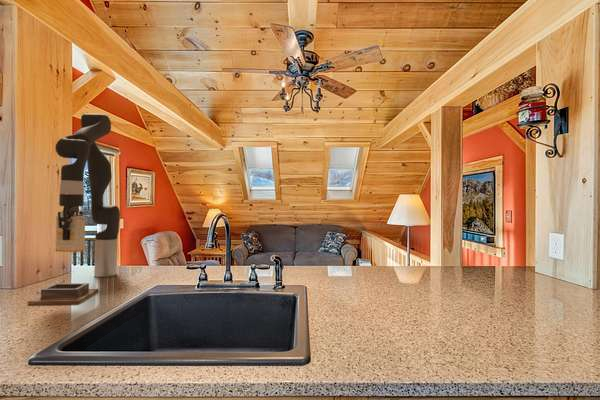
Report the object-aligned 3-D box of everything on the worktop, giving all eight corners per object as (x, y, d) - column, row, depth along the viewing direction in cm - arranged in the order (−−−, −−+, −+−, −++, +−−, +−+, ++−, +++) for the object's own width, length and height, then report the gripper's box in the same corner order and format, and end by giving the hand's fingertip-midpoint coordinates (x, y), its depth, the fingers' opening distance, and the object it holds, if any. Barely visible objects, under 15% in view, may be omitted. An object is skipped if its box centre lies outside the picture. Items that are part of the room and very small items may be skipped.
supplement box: (85, 250, 130) (86, 215, 130) (75, 252, 125) (77, 216, 125) (64, 249, 131) (65, 215, 131) (54, 251, 126) (55, 215, 126)
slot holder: (54, 292, 134) (54, 281, 134) (98, 291, 137) (98, 281, 137) (27, 304, 119) (28, 292, 119) (78, 304, 121) (78, 292, 121)
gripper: (70, 193, 135) (69, 237, 135) (49, 192, 120) (48, 241, 120) (91, 194, 136) (89, 237, 136) (73, 193, 122) (71, 241, 121)
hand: (70, 238), depth 128 cm, fingers closed on supplement box, 5 cm apart
